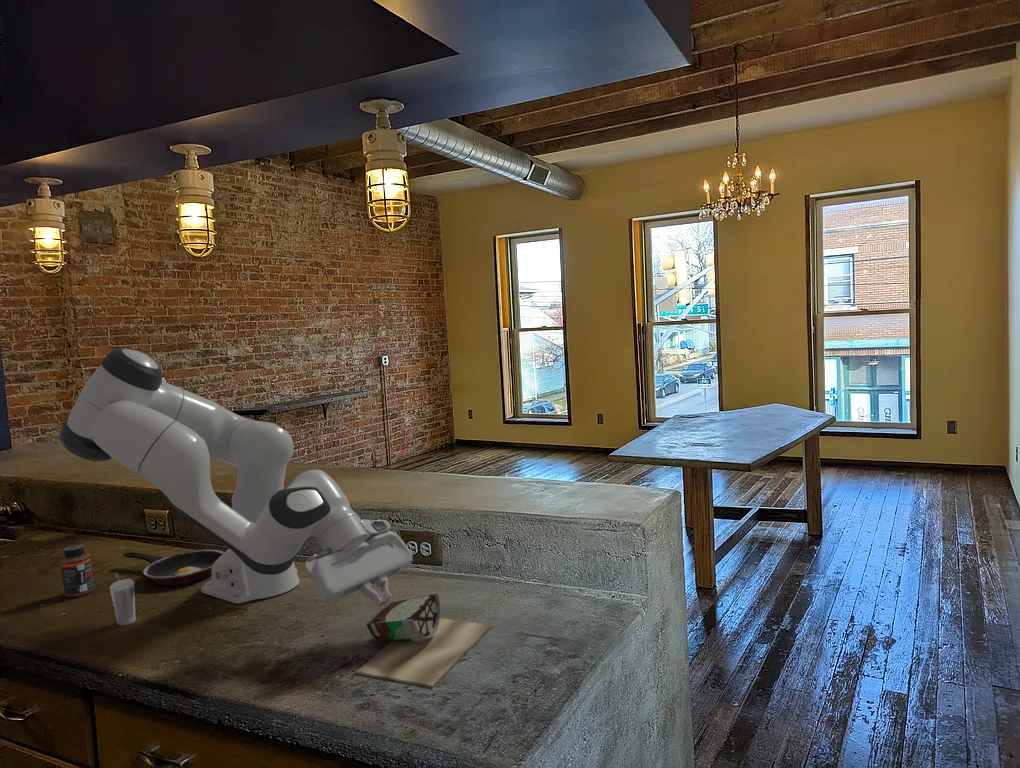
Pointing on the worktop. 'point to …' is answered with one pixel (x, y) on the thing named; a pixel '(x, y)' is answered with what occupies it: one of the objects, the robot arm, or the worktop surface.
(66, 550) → the supplement bottle
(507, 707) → the worktop surface
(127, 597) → the milkshake
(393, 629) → the food container
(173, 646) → the worktop surface
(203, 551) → the frying pan
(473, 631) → the oak board
